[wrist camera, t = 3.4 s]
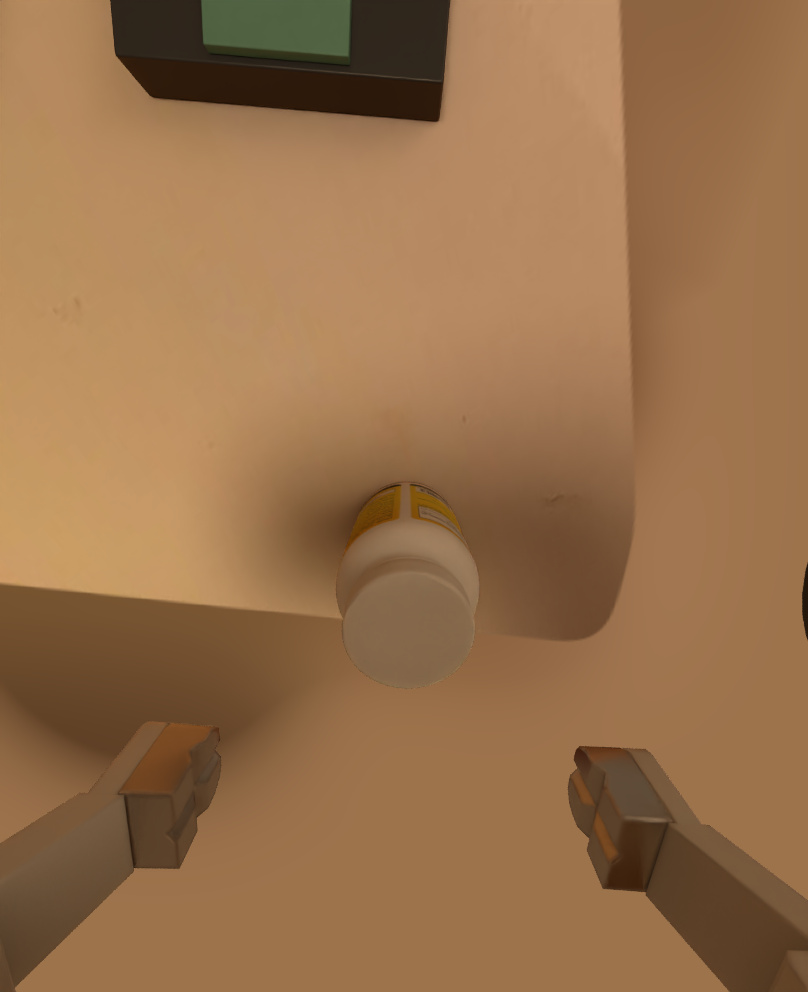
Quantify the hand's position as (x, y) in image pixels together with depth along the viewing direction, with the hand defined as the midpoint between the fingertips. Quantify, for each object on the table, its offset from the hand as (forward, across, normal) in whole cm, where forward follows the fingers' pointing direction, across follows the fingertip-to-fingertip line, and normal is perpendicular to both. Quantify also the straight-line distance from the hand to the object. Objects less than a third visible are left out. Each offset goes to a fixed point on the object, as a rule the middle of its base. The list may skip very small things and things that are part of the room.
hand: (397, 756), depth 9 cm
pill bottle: (+16, 0, 0) cm, 16 cm away
